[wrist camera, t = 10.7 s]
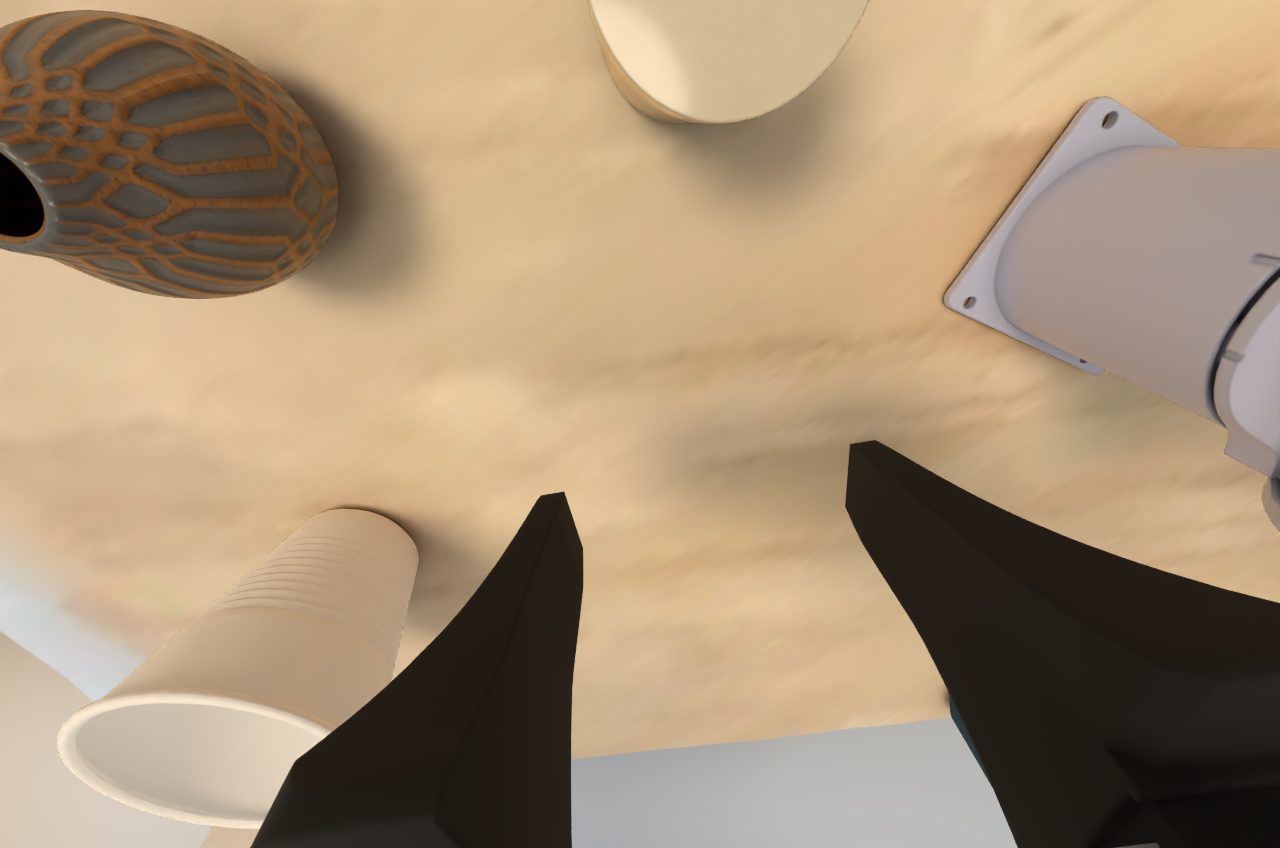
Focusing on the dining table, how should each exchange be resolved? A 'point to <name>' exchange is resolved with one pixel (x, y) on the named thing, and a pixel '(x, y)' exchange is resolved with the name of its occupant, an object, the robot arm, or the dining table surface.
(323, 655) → the cup
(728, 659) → the dining table surface
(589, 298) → the dining table surface
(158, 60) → the vase
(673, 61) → the jar
